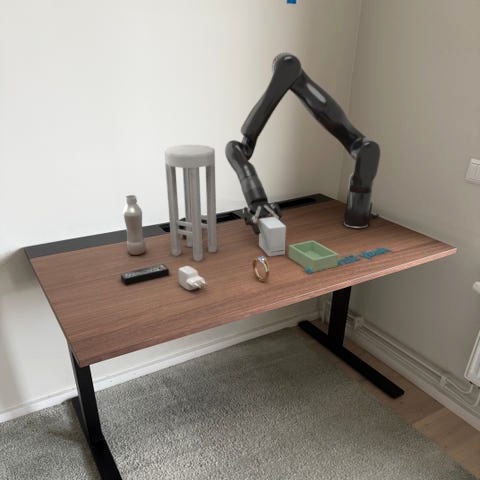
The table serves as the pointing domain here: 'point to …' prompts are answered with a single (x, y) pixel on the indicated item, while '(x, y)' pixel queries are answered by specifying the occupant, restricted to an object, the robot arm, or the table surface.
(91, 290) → the table surface
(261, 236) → the cosmetics box
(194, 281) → the power adapter
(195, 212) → the stool
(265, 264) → the ring
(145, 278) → the multiport hub
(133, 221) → the plastic bottle
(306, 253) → the holder
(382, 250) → the nameplate
